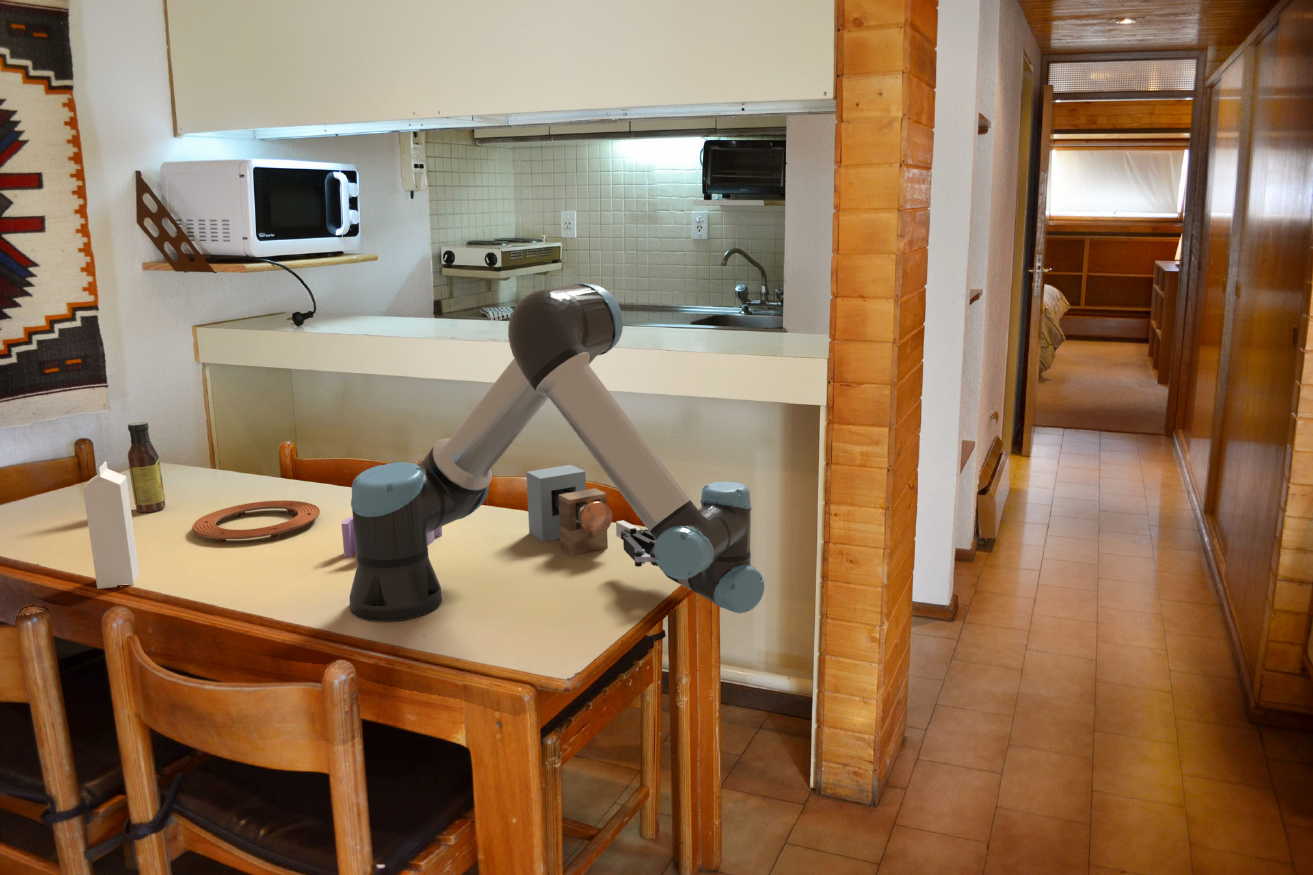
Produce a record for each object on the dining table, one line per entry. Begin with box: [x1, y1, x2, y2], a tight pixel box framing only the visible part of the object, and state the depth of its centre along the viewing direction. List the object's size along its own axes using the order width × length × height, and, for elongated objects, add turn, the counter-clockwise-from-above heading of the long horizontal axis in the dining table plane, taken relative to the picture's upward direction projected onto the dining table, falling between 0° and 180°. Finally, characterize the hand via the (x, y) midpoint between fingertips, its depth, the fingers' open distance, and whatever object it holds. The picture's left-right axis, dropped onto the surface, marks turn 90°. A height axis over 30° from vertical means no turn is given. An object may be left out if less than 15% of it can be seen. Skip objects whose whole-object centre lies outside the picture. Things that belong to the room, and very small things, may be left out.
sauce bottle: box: [127, 421, 166, 513], centre depth 232 cm, size 7×6×20 cm
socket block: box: [526, 464, 587, 542], centre depth 211 cm, size 10×6×13 cm, turn 121°
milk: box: [82, 460, 140, 590], centre depth 187 cm, size 6×6×22 cm
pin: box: [551, 489, 613, 535], centre depth 204 cm, size 6×18×6 cm, turn 31°
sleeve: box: [559, 488, 609, 556], centre depth 202 cm, size 8×4×11 cm, turn 121°
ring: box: [191, 499, 321, 544], centre depth 220 cm, size 25×25×2 cm
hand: (619, 528), depth 190 cm, fingers closed
